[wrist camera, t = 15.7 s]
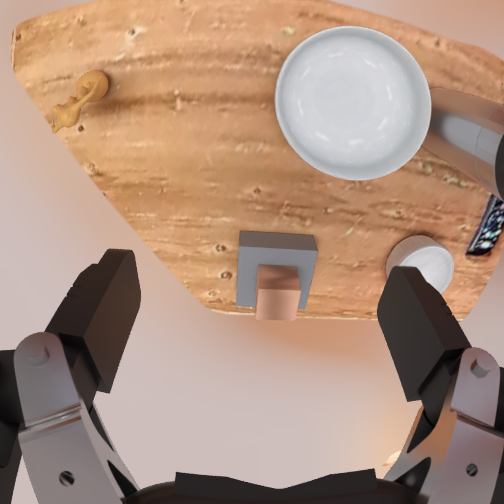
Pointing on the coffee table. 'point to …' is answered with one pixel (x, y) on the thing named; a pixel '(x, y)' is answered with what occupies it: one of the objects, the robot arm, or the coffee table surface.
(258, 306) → the terracotta cube
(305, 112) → the cereal bowl
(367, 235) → the coffee table surface
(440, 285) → the ramekin
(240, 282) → the slate base
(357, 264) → the coffee table surface
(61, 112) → the figurine
